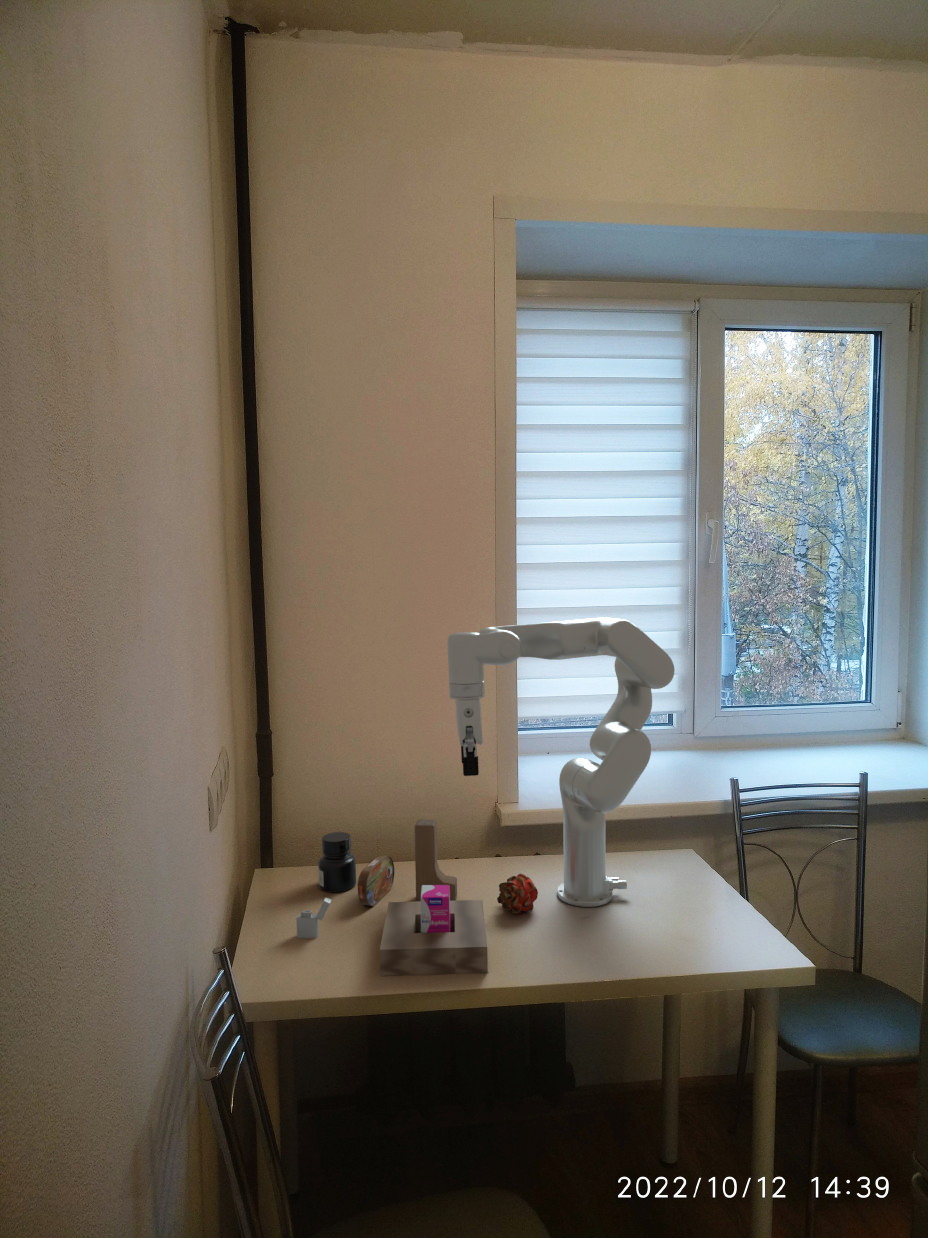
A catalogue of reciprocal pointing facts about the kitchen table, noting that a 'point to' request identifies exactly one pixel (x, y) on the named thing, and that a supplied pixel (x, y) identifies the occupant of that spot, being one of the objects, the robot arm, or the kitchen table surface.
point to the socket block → (434, 941)
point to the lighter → (310, 921)
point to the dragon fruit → (517, 894)
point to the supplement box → (435, 908)
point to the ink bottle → (337, 863)
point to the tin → (375, 880)
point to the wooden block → (429, 859)
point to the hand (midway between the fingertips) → (469, 769)
